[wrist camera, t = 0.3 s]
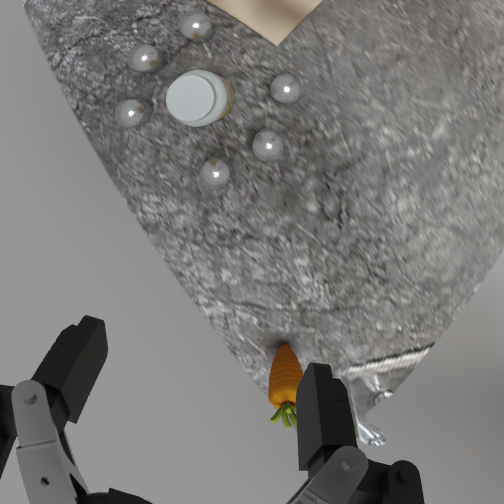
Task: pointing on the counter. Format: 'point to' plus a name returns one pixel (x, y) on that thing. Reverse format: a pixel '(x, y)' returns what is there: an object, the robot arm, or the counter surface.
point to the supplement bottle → (199, 98)
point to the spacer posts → (141, 110)
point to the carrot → (284, 384)
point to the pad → (268, 15)
